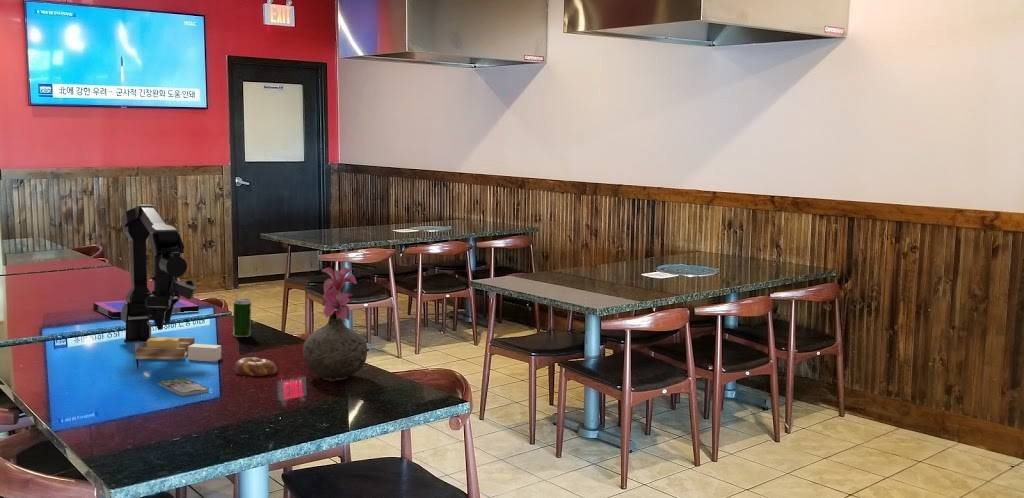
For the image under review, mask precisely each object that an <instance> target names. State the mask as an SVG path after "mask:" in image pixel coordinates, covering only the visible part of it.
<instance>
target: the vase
mask: <svg viewBox="0 0 1024 498" xmlns="http://www.w3.org/2000/svg"><path fill="white" fill-rule="evenodd" d="M351 271H353V267H350V268H348V267H347V266H346V267H345V266H342V267H341V268H340V270H337V269H335V270H333V268H332V267H331V266H330V267H325V268H324V269H322V270H321V272H323V273H325V274H327V275H329V276H330V278H327V279H326V280H325V281H324V283H323V292H324V293H323V296H322V298H323V300H322V304H321V306H323V307H324V308H323V311H322V312H323V314H324V316H325V317H326V318H328V321H327V323H326V324H325V325H324V326H321V327H320V328H318V329H317V330H315V331H313V332H311V334H309V336H308V337H306V339H305V341H304V342H303V345H302V356H303V357H302V358H303V361H304V364H305V366H306V368H307V369H308V370H309V371H311V372H312V373H314V374H315V375H318V376H320V378H321V377H323V378H331V379H336V378H345V377H347V378H349V377H350V376H352V375H355V374H356V373H357V372H359V371H360V370H362V368H363V367H364V365H365V364H366V362H367V357H368V346H367V345H368V344H367V342H366V341H365V339H364V338H363V337H362V336H361V334H359V333H358V332H356V331H355V330H353V329H351V328H349V327H348V326H346V325H345V324H344V323H346V322H345V320H347V321H348V322H350V317H351V316H350V307H349V306H348V303H349V302H350V300H351V299H350V297H352V296H353V294H352V293H350V292H346V291H342V292H341V290H342V288H343V286H344V284H345V283H352V284H356V285H357V283H358V282H357V280H356V277H355V275H354V274H352V273H350V272H351Z"/></svg>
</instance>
